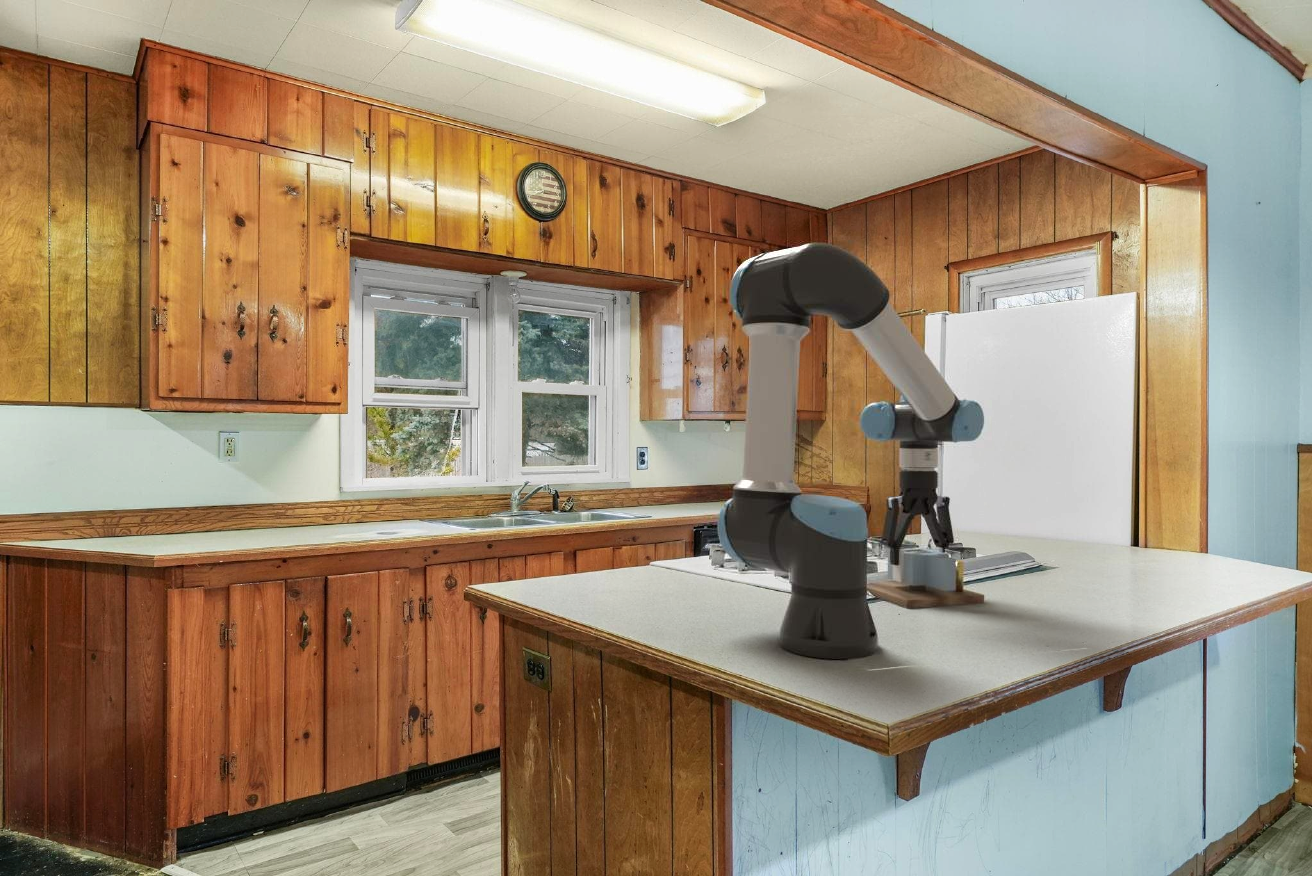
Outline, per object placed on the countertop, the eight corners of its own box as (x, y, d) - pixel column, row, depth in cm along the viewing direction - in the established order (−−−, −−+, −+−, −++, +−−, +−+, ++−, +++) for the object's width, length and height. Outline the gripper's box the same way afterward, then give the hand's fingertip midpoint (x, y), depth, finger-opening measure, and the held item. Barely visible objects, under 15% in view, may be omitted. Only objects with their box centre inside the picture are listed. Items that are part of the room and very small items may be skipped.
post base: (906, 608, 154) (907, 561, 154) (855, 590, 171) (855, 547, 171) (984, 602, 159) (984, 556, 159) (926, 585, 176) (927, 544, 176)
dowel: (958, 592, 162) (958, 562, 162) (953, 590, 163) (953, 561, 163) (965, 591, 162) (965, 562, 162) (959, 590, 164) (960, 560, 164)
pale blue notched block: (887, 578, 168) (887, 549, 168) (922, 575, 170) (922, 547, 170) (931, 591, 154) (932, 560, 154) (968, 589, 157) (968, 558, 157)
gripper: (884, 470, 158) (883, 586, 158) (974, 469, 165) (973, 580, 165) (863, 469, 165) (862, 579, 165) (949, 467, 172) (948, 573, 172)
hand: (917, 579), depth 165 cm, fingers closed on pale blue notched block, 8 cm apart
